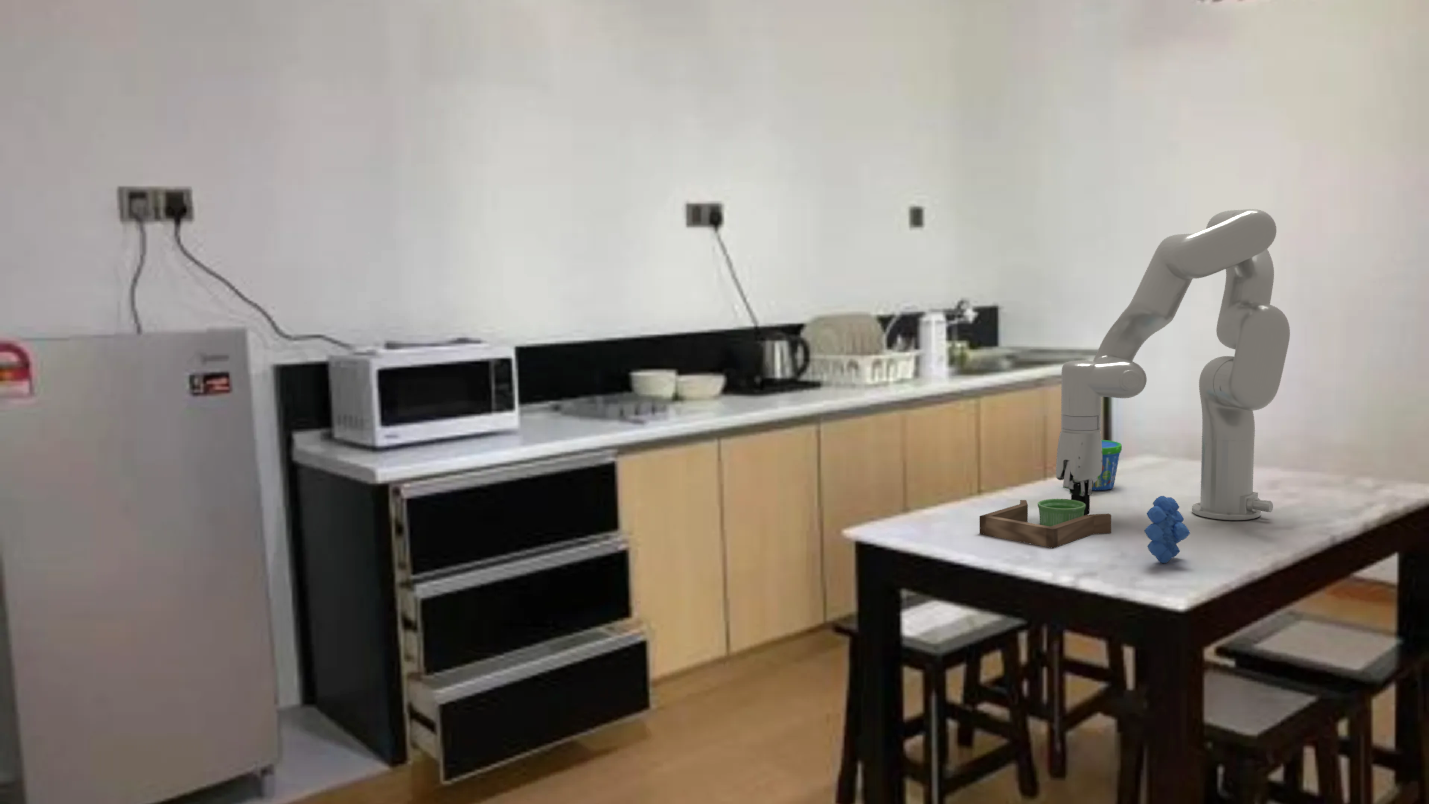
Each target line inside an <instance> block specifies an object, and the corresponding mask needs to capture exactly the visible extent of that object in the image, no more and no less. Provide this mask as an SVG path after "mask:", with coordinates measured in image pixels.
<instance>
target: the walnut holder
mask: <svg viewBox="0 0 1429 804" xmlns="http://www.w3.org/2000/svg"><path fill="white" fill-rule="evenodd" d="M1019 501H1020V502H1019V504H1015V505H1012V506H1009V507H1006V508H1002V509H999V510H996V511H992V512H989V513H986V514H982V515H979V534H980V535H983V536H984V535H985V536H989V537H995V538H999V539H1004V540H1009V541H1015V542H1021V543H1024V542H1025V544H1029V543H1031V545H1035V546H1039V545H1041V546H1040V547H1044V546H1046V548H1049V547H1050V549H1055V548H1058V547H1060V546H1059V545H1061V546H1063V544H1064V545H1066V544H1070V543H1071V542H1075V541H1078V540H1080V539H1083V538H1086V537H1089V536H1092V535H1096V534H1097V535H1098V533H1099V534H1111V533H1112V514H1111V513H1093V514H1092V513H1091V514H1090V513H1089V514H1088V515H1084V516H1081V517H1078V518H1075V519H1072V520H1069V521H1066V522H1063V523H1060V524H1057V525H1054V526H1051V527H1050V526H1044V525H1041V524H1040V523H1039V524H1038V523H1034V522H1033V523H1032V522H1028V521H1029V516H1028V515H1029V514H1028V513H1029V512H1028V511H1029V508H1028V507H1029V505H1028V501H1027V499H1020V500H1019ZM1077 539H1078V540H1077ZM1057 546H1058V547H1057ZM1051 547H1052V548H1051ZM1054 547H1055V548H1054Z"/></svg>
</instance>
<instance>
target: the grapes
mask: <svg viewBox="0 0 1429 804" xmlns="http://www.w3.org/2000/svg"><path fill="white" fill-rule="evenodd" d="M1152 505H1153V506H1152V507H1150V509H1148V510H1147V512H1146V516H1147V518H1148V519H1149V521H1150V522H1151V523H1150V524H1148V525H1147V526H1146V527H1145V529H1144V533H1145V535H1146V537H1147V538H1148V539H1149V540H1151V541H1150V542H1149V543H1148V544H1147V546H1146V547H1147V549H1148V551H1149V553H1150V554H1151V555H1152V556H1154V557H1155V558H1156V560H1157V561H1158V562H1159V563H1161V564H1166V563H1168V562H1170V560H1171V559H1173V558H1174V557H1176V556H1177V555H1178V554H1179V553H1180V552H1181V549H1180V547H1178V545H1177V544H1179V543H1180V542H1182V541H1184V540H1185V539H1187V537H1188V536H1189V535H1190V534H1191V532H1190V529H1189V528H1188V527H1187V525H1186V524H1185V523H1183V521H1185V518H1184V516H1183V514H1182V513H1181V512H1180V511H1179V509H1180V506H1179V504H1178V502H1177V501H1176V500H1175V499H1174V498H1173V497H1167V496H1165V495H1159V496H1158V497H1156V498H1155V500H1154V501H1153V502H1152Z"/></svg>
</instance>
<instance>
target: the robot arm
mask: <svg viewBox="0 0 1429 804" xmlns="http://www.w3.org/2000/svg"><path fill="white" fill-rule="evenodd" d="M1276 237H1277V225H1276V222H1275V220H1274V218H1273V217H1272V216H1271V215H1270V214H1269V213H1268V212H1266V211H1264V210H1260V209H1256V208H1254V209H1253V208H1252V209H1251V208H1249V209H1233V210H1232V209H1231V210H1225V211H1221V212H1219V213H1215V215H1213V216H1212V217H1211V218H1210V219H1209V221H1208V222H1207V224H1206V228H1204V229H1203V230H1200V231H1197V232H1194V233H1177V234H1172V235H1169V236H1167V237H1166V238H1164V239H1163V240H1162V241H1160V243H1159V244H1158V246H1157V247H1156V250H1155V251H1154V254H1153V255H1152V258H1151V259H1150V261H1149V263H1148V266H1147V267H1146V271H1145V272H1144V275H1143V277H1142V278H1141V280H1140V283H1139V285H1138V287H1137V289H1136V291H1135V293H1134V295H1133V297H1132V299H1131V301H1130V302H1129V305H1128V306H1127V307H1126V308H1125V309H1124V310H1123V311H1122V312H1121V313H1120V316H1119V317H1118V318H1117V320H1116V321H1115V322H1114V323H1113V324H1112V325H1111V327H1110V328H1109V330H1108V331H1107V332H1106V334H1105V336H1104V337H1103V339H1102V341H1101V343H1100V346H1099V347H1098V349H1097V352H1096V354H1095V356H1094V358H1093V360H1070V361H1067V362H1064V363H1063V365H1062V366H1061V387H1060V389H1061V399H1060V401H1061V403H1060V405H1061V406H1060V410H1061V411H1060V413H1061V414H1060V415H1061V416H1060V419H1061V421H1060V422H1061V423H1060V424H1061V425H1060V427H1061V428H1060V433H1059V437H1058V442H1057V449H1056V451H1057V452H1056V462H1055V463H1056V464H1055V465H1056V466H1055V477H1056V479H1057V480H1058V481H1063V483H1062V487H1063V489H1068V490H1069V491H1068V492H1069V494H1070V500H1077V501H1080V502H1083V503H1085V505H1086V507H1085V510H1084V515H1090V511H1091V507H1090V504H1091V503H1090V502H1091V501H1090V500H1091V494H1092V491H1093V490H1092V484H1093V483H1094V482H1096V481H1097V479H1098V476H1099V475H1100V474H1101V472H1102V441H1101V440H1102V435H1101V434H1102V433H1101V432H1102V398H1103V397H1104V398H1113V399H1114V398H1115V399H1131V398H1135V397H1136V396H1138V395H1139V394H1140V393H1142V392H1143V391H1144V389H1145V388H1146V385H1147V381H1148V379H1147V374H1146V371H1145V370H1144V368H1143V367H1142V366H1141V365H1139V364H1138V363H1137V362H1136V361H1134V360H1135V357H1136V355H1137V354H1138V352H1139V350H1140V349H1141V347H1142V346H1143V344H1144V343H1145V342H1146V341H1147V340H1148V339H1149V338H1150V337H1151V336H1153V335H1154V334H1155V333H1157V332H1159V331H1161V330H1162V329H1163V328H1165V327H1167V326H1168V325H1169V324H1170V323H1171V322H1172V321H1174V318H1175V316H1176V314H1177V313H1178V310H1179V308H1180V306H1181V303H1182V301H1183V300H1184V298H1185V295H1186V293H1187V291H1188V288H1190V285H1191V283H1192V282H1193V280H1194V279H1201V278H1206V277H1208V276H1211V275H1215V274H1217V273H1220V272H1221V271H1224V270H1225V284H1224V290H1223V295H1222V300H1221V304H1220V309H1219V313H1218V317H1217V322H1216V323H1217V324H1216V329H1215V330H1216V337H1217V338H1218V341H1219V342H1220V343H1221V344H1222V345H1223V346H1225V347H1226V348H1229V349H1232V350H1234V355H1233V356H1231V355H1223V356H1218V357H1215V358H1214V359H1211V360H1210V361H1208V362H1207V363H1206V364H1205V365H1204V367H1203V368H1202V370H1201V373H1200V375H1199V378H1198V389H1199V396H1200V397H1199V398H1200V404H1201V415H1202V416H1201V418H1202V420H1201V421H1202V425H1201V427H1202V430H1201V431H1202V433H1201V455H1200V456H1201V460H1200V462H1201V464H1200V465H1201V466H1200V500H1199V502H1197V503H1194V504H1193V505H1191V512H1192V513H1193V514H1194V515H1197V516H1199V517H1202V518H1207V519H1213V520H1220V521H1221V520H1222V521H1247V520H1254V519H1257V518H1259V517H1260V516H1261V515H1262V512H1265V513H1272V512H1273V510H1274V505H1273V502H1272V501H1271V500H1267V499H1265V500H1264V499H1260V498H1259V492H1258V491H1257V492H1256V491H1254V466H1255V465H1254V464H1255V462H1254V460H1255V458H1254V457H1255V436H1256V435H1255V434H1256V433H1255V432H1256V430H1255V425H1256V424H1255V416H1254V411H1259V410H1262V409H1264V408H1266V407H1267V406H1269V404H1270V403H1272V402H1273V400H1274V399H1275V397H1276V396H1277V393H1278V391H1279V387H1280V384H1281V380H1282V375H1283V371H1284V368H1285V363H1286V357H1287V353H1288V349H1289V343H1290V337H1291V329H1290V328H1291V327H1290V323H1289V320H1288V318H1287V316H1286V315H1285V313H1284V312H1283V311H1282V310H1281V309H1280V308H1278V307H1277V306H1275V305H1272V304H1271V301H1272V294H1273V289H1274V281H1275V267H1274V264H1273V263H1274V262H1273V259H1272V257H1271V254H1270V252H1269V248H1270V247H1271V245H1272V244H1273V243H1274V241H1275V239H1276Z"/></svg>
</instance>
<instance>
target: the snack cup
mask: <svg viewBox="0 0 1429 804" xmlns="http://www.w3.org/2000/svg"><path fill="white" fill-rule="evenodd" d="M1101 441H1102V472H1101V474H1100V475H1099V476H1098V479H1097V481H1096V482H1094V483H1093V484H1092V490H1091V491H1108V490H1112V489H1113V488H1114V486H1115V484H1116V483H1115V482H1116V476H1117V471H1118V465H1119V459H1120V454H1121V452H1122V450H1123V449H1122V443H1121V442H1118V441H1114V440H1106V439H1101Z"/></svg>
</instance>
